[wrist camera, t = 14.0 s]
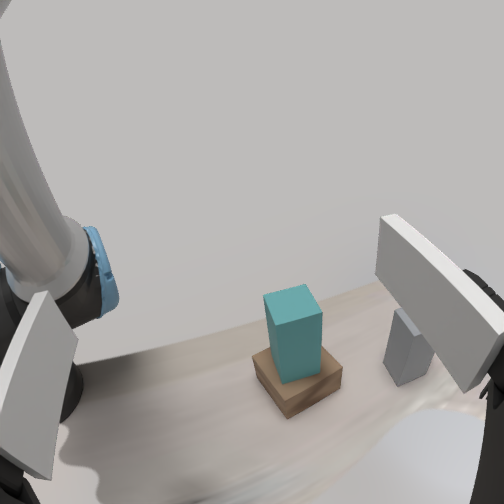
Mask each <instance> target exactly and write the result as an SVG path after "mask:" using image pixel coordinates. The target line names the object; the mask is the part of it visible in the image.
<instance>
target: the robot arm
mask: <svg viewBox="0 0 504 504" xmlns="http://www.w3.org/2000/svg"><path fill="white" fill-rule="evenodd" d="M10 2H11V0H0V18H1V16H2V15H3V13H4V11H5V10H6V8H7V6H8V5H9V3H10ZM0 261H1V262H2V263H3V264H4V265H5V266H6V267H4V268H1V264H0V504H40V502H39V500H38V498H37V496H36V495H35V493H34V491H33V489H32V487H31V485H30V483H29V482H28V481H27V479H26V478H24V477H23V474H24V471H25V472H26V473H28V474H29V475H31V476H33V477H34V478H38V479H44V480H52V470H53V461H54V454H55V446H56V439H57V433H58V427H59V423H61V422H62V421H63V420H64V419H66V418H67V417H68V416H69V415H70V413H71V412H72V411H73V410H74V408H75V407H76V405H77V403H78V401H79V399H80V396H81V393H82V387H83V380H82V375H81V372H80V370H79V369H78V367H77V366H76V365H75V364H74V362H73V357H74V353H75V350H76V346H77V343H78V338H77V337H76V335H75V334H74V332H73V330H72V329H74V328H76V327H78V326H81V325H83V324H85V323H87V322H89V321H91V320H94V319H98V318H101V317H102V316H103V315H104V314H106V313H107V312H109V311H111V310H113V309H115V307H117V305H118V303H119V293H118V290H117V286H116V283H115V280H114V276H113V274H112V273H111V272H112V271H111V268H110V264H109V261H108V258H107V255H106V252H105V249H104V246H103V243H102V241H101V238H100V236H99V233H98V231H97V229H96V228H95V227H92V226H89V227H83V228H82V227H81V226H80V224H79V223H78V222H76V221H75V220H73V219H71V218H69V217H67V216H63V215H62V214H61V212H60V210H59V208H58V205H57V204H56V201H55V199H54V197H53V195H52V193H51V191H50V188H49V187H48V184H47V182H46V179H45V177H44V175H43V172H42V171H41V168H40V166H39V163H38V161H37V158H36V156H35V153H34V151H33V148H32V145H31V143H30V140H29V137H28V135H27V132H26V129H25V127H24V124H23V121H22V118H21V115H20V112H19V109H18V106H17V102H16V99H15V96H14V93H13V89H12V86H11V83H10V78H9V75H8V71H7V67H6V63H5V59H4V55H3V50H2V46H1V41H0ZM375 275H376V276H377V277H378V279H379V280H380V281H381V282H382V283H383V285H384V286H385V287H386V288H387V290H388V291H389V292H390V293H391V295H392V296H393V297H394V298H395V300H396V301H397V302H398V304H399V305H400V306H401V307H402V309H403V310H404V311H405V313H406V314H407V315H408V316H409V318H410V319H411V320H412V322H413V323H414V324H415V326H416V327H417V328H418V330H419V331H420V332H421V334H422V335H423V336H424V338H425V339H426V341H427V342H428V343H429V345H430V346H431V347H432V349H433V350H434V352H435V353H436V354H437V356H438V357H439V359H440V360H441V361H442V363H443V364H444V366H445V367H446V369H447V370H448V371H449V373H450V374H451V376H452V377H453V379H454V380H455V382H456V383H457V385H458V386H459V388H460V389H461V391H462V392H463V394H464V393H466V392H468V391H469V390H471V389H472V388H474V387H476V386H477V385H479V384H480V383H481V381H482V380H483V378H484V377H485V375H486V374H487V373H488V374H489V375H490V377H491V379H490V380H489V382H488V383H487V385H486V386H485V388H484V389H483V390H482V392H481V394H480V397H479V399H482V398H483V397H484V395H485V394H486V393H487V391H488V396H487V397H486V400H487V410H486V420H485V428H484V436H483V443H482V450H481V455H480V461H479V466H478V471H477V475H476V480H475V485H474V488H473V492H472V496H471V500H470V504H504V300H502V298H501V297H500V296H499V295H496V294H495V291H494V290H493V289H492V288H491V287H488V285H487V284H486V283H485V282H484V281H483V280H482V279H481V278H480V277H479V276H478V275H476V274H474V273H472V272H470V271H468V270H466V269H465V270H461V269H460V268H459V267H458V266H457V265H456V264H454V263H453V262H452V261H451V260H450V259H449V258H448V257H447V256H446V255H445V254H443V253H442V252H441V251H440V250H439V249H438V248H437V247H435V246H434V245H433V244H432V243H431V242H430V241H429V240H427V239H426V238H425V237H424V236H423V235H422V234H420V233H419V232H418V231H417V230H416V229H414V228H413V227H412V226H411V225H409V224H408V223H407V222H406V221H405V220H403V219H402V218H401V217H400V216H398V215H397V214H392V215H387V216H382V217H380V228H379V241H378V251H377V261H376V272H375Z"/></svg>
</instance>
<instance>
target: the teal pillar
mask: <svg viewBox="0 0 504 504" xmlns="http://www.w3.org/2000/svg"><path fill="white" fill-rule="evenodd" d="M263 298H264V305H265V312H266V319H267V326H268V333H269V340H270V348H271V355H272V358H273V361H274V363H275V366H276V369H277V372H278V374H279V377H280V380H281V383H282V384H285V383H288V382H292V381H295V380H299V379H302V378H305V377H308V376H312V375H315V374H318V373H320V363H321V342H322V311H321V309H320V307H319V306H318V304H317V302H316V301H315V299H314V297H313V296H312V294H311V292H310V291H309V289H308V287H307V286H306V284H303V285H300V286H296V287H292V288H289V289H285V290H281V291H277V292H273V293H269V294H265V295H263Z"/></svg>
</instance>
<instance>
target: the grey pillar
mask: <svg viewBox="0 0 504 504" xmlns="http://www.w3.org/2000/svg"><path fill="white" fill-rule="evenodd" d="M434 353H435V352H434V350H433V349H432V347H431V346H430V345H429V343H428V342H427V341H426V339H425V338H424V336H423V335H422V334H421V332H420V331H419V330H418V328H417V327H416V326H415V324H414V323H413V322H412V320H411V319H410V318H409V316H408V315H407V314H406V313H405V311H404V310H403V309H402V308H399V309H396V310H395V311H394V316H393V321H392V326H391V331H390V335H389V340H388V344H387V348H386V352H385V356H384V360H383V363H384V365H385V366H386V368H387V370H388V371H389V373H390V375H391V377H392V378H393V380H394V382H395V383H396V385H397V387H398V386H400V385H403V384H405V383H407V382H410V381H412V380H414V379H416V378H419V377H421V376H423V375H425V374H426V372H427V370H428V367H429V365H430V363H431V360H432V358H433V355H434Z"/></svg>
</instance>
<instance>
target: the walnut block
mask: <svg viewBox="0 0 504 504" xmlns="http://www.w3.org/2000/svg"><path fill="white" fill-rule="evenodd" d="M252 359H253V363H254V367H255V371H256V375H257V378H258V379H259V381H260V382H261V383H262V385H263V386H264V388H265V389H266V391H267V392H268V393H269V395H270V396H271V398H272V399H273V400H274V402H275V403H276V405H277V406H278V407H279V409H280V410H281V412H282V413H283V414H284V416H285V417H286V418H287V419H289V418H291V417H293V416H294V415H296V414H298V413H300V412H301V411H303V410H305V409H307V408H308V407H310V406H312V405H313V404H315V403H317V402H319V401H320V400H322V399H323V398H325V397H327V396H328V395H330V394H332V393H333V392H335V391H336V390H338V389H339V388H340V386H341V377H342V369H343V367H342V366H341V365H340V364H339V363H338V362H337V361H336V360H335V359H334V358H333V357H332V356H331V355H330V354H329V353H328V352H327V351H326V350H325V349H324V348H323V347H322V345H321V363H320V373H318V374H315V375H312V376H308V377H305V378H302V379H299V380H295V381H292V382H288V383H285V384H282V383H281V380H280V377H279V374H278V372H277V369H276V366H275V363H274V361H273V358H272V355H271V348H270V347H269V348H267V349H265V350H263V351H261V352H259V353H257V354H255V355H253V356H252Z"/></svg>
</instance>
